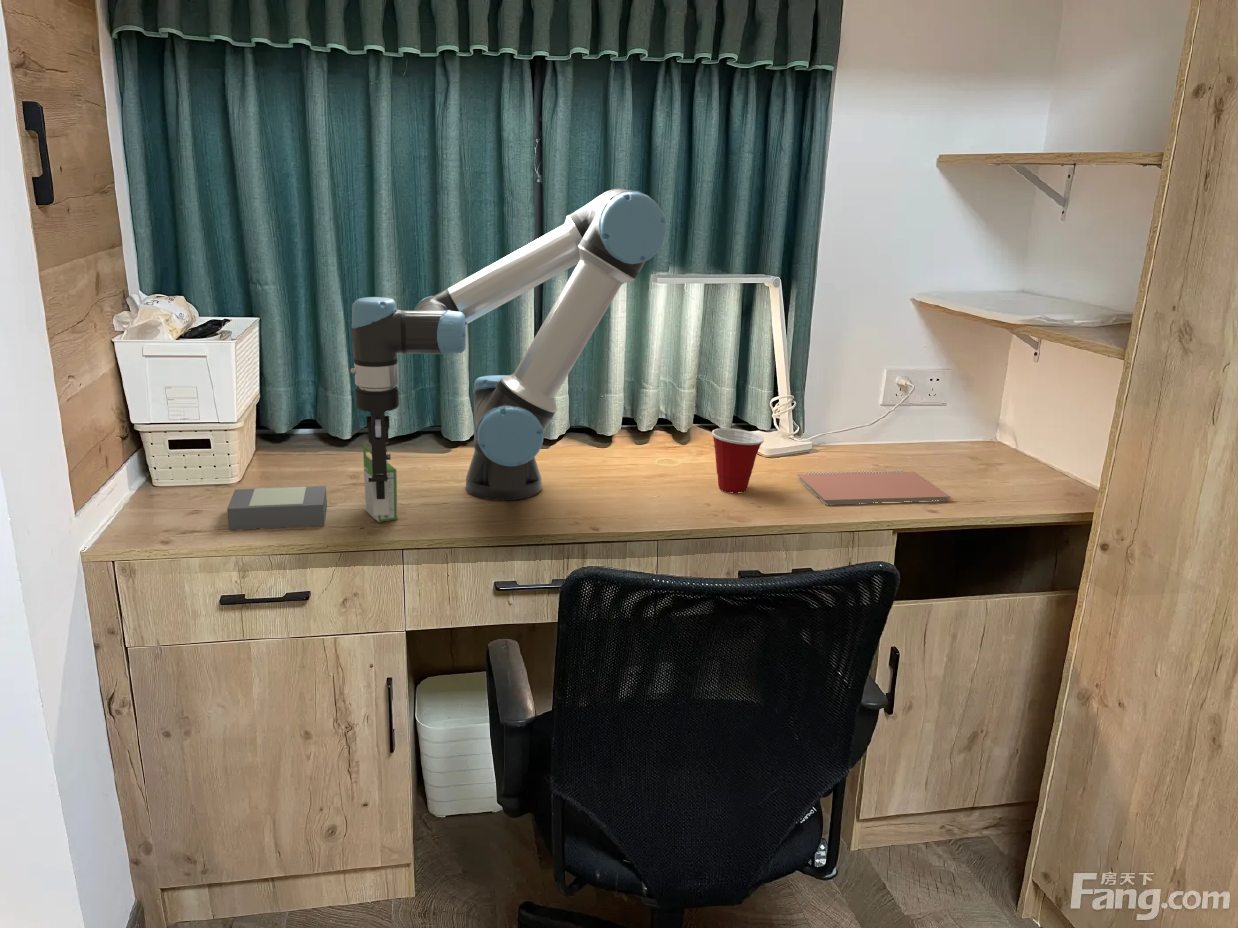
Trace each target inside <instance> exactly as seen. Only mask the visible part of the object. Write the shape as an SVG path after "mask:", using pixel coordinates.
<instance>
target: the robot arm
mask: <svg viewBox="0 0 1238 928" xmlns="http://www.w3.org/2000/svg"><path fill="white" fill-rule="evenodd" d="M666 223H667V222H666V217H665V215H664V212H663V210H662V209H661V207H660V206H659V204H658V203H657V201H655V200H654V199H652V198H651V197H650V196H649V195H648V194H645V193H643V192H642V191H640V190H633V189H628V188H619V187H618V188H612V189H610V190H607V191H605V192H602V194H600V195H598V196H597V197H595V198H594V199H593V200H591V201H590V202H588V203H587V204H585V205H584V206H582V207H580V208H579V209H577V210H575V211H574V212H572V213H570V214H568V215H566V218H565V221H564V223H563V224H562V225H560V226H558V227H556V228H555V229H552V230H551V231H549V232H547V233H545V234H544V235H542V236H540V237H539V238H536V239H535V240H533V241H531V242H529V243H528V244H526V245H524V246H522V247H521V248H518V249H517V250H514V251H513V252H511V253H510V254H507V255H506V256H504V257H502V258H500V259H499V260H497V261H494V262H493V263H491V264H490V265H487V266H485V267H484V268H482V269H480V270H479V271H477V272H475V273H473V274H470V275H469V276H467V277H466V278H464V279H463V280H460V281H459V282H457V283H455V284H453V285H452V286H450V287H448V288H447V289H444V290H442V291H440V292H439V293H436V294H434V295H430V296H427V297H424V298H423V299H421V300H420V301H419V302H418V303H417V304H416V305H415V307H414V309H413V310H401V309H398V306H397V304H396V301H395V299H393V298H389V297H380V296H368V297H360V298H357V299H356V300H355V301H354V302H353V303H352V306H351V316H352V317H351V335H352V337H351V339H352V353H353V364H354V367H352V368H350V373H351V374H354V384H355V385H356V388H355V389H354V396H355V407H356V408H357V409H358V410H359V411H361V412H362V411H363V412H369V413H370V415H367V416H366V430H367V431H368V443H369V445H371V449H372V454H371V459H372V471H373V476H372V478H368V480H369V482H372V488H373V512H374V515H389V497H388V476H387V464H386V462H388V460H390V461H391V460H392V459H391V456H392V455H391V453H389V454H387V452H388V449H387V445H388V444H389V442H390V441H389V430H390V428H391V427H390V415H386V414H385V413H386V412H391V411H393V410H396V409H397V408H399V406H400V397H399V396H400V393H399V388H398V386H397V385H398V384H399V383H400V381H399V380H400V379H399V378H400V377H399V361H398V355H399V354H421V355H423V354H425V355H428V354H429V355H444V356H445V355H450V354H451V355H452V354H462V353H464V351H465V350H466V345H467V343H466V340H467V339H466V336H467V334H466V331H467V330H466V326H467V325H469V324H470V323H471V322H473V321H475V320H477V319H478V318H482V316H485V315H486V314H488V313H489V312H490V313H491V312H492V311H493V310H496V309H497V308H500V306H501V307H502V305H504V304H506V303H508V302H510V301H512V300H513V299H516V298H517V297H519V296H520V295H522V294H524V293H527V292H528V291H531V290H532V289H534V288H536V287H538V286H539V285H541V284H543V283H545V282H546V281H549V280H550V279H552V278H554V277H556V276H557V275H559V274H561V273H563V272H566V271H567V270H568V269H570V268H572V267H574V266H575V268H574V269H573V270H572V273H571V275H570V276H569V278H568V280H567V281H566V283H565V284H564V286H563V288H562V290H561V292H560V294H559V295H558V297H557V298H556V300H555V302H554V304H553V305H552V307H551V309H550V310H549V312H548V313H547V316H546V318H545V319H544V321H543V323H542V324H541V325H540V328H539V330H538V331H537V333H536V335H535V336H534V338H533V340H532V342H531V343H530V344H529V347H528V349H527V350H526V352H525V353H524V356H523V357H522V358H521V361H520V362H519V364H518V365H517V367H516V370H514V373H511V374H510V375H507V374H505V375H504V374H503V375H502V374H501V375H500V374H499V375H484V376H480V377H478V378H476V379H475V381H474V383H473V390H472V393H473V400H474V401H473V403H474V404H473V407H474V408H473V410H474V411H473V414H474V417H473V418H474V419H473V424H474V427H473V428H474V429H473V431H474V432H473V433H474V435H473V436H474V438H473V439H474V440H473V441H474V453H473V455H472V458H471V460H470V464H469V467H468V471H467V473H466V476H465V489H466V491H467V492H468V494H470V495H473V496H474V497H477V498H481V499H484V500H485V499H486V500H490V501H491V500H494V501H514V500H523V499H526V498H531V497H533V496H535V495H537V494H539V492H540V491H541V490H542V475H541V472H540V469H539V466H538V464H537V463H538V462H537V459H536V456H537V455H538V453H539V451H540V450H541V448H542V446H543V442H544V438H545V434H544V433H545V431H546V429H547V427H548V426H549V424H550V423H551V420H552V419H553V417H554V415H555V414H556V412H557V410H558V409H557V405H556V402H555V401H556V400H555V399H556V395H557V394H558V392H559V390H560V389H561V387H562V386H563V384H564V382H565V381H566V379H567V377H568V376H569V374H570V373H571V371H572V369H573V367H574V366H575V364H576V362H577V361H578V359H579V357H580V356H581V354H582V352H583V350H584V349H585V347H586V345H587V344H588V342H589V340H590V339H591V338H592V335H593V334H594V332H595V331H596V329H597V327H598V325H599V324H600V322H601V320H602V318H603V316H604V315H605V313H606V312H607V310H608V309H609V307H610V305H611V303H612V301H613V300H614V298H615V297H616V295H617V294H618V292H619V290H620V288H621V286H622V285H623V284H626V283H630V282H634V281H635V280H636V278H637V277H638V274H639V273H640V272H641V270H642V269H643V267H644V265H645V264H646V262H647V261H649V260H651V259H652V258H653V257H654V256H655V255H657V253H658V252H659V251H660V250H661V248H662V246H663V245H664V242H665V238H666V235H667V234H666V233H667V224H666ZM376 474H383V475H376Z"/></svg>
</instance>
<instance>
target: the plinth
mask: <svg viewBox="0 0 1238 928" xmlns="http://www.w3.org/2000/svg"><path fill="white" fill-rule="evenodd" d="M226 510H227V511H226V513H227V521H228V523H227V524H228V530H229V531H235V530H236V531H239V529H243V530H254V529H253V528H264V529H280V528H281V527H282V529H283V527H286V528H300V527H301V528H303V527H304V528H306V527H320V526H321V527H324V526H325V525H326V524H325V523H326V517H327V510H328V500H327V486H326V485H319V486H318V485H317V486H289V487H288V486H287V487H267V488H266V487H260V488H259V487H258V488H241V489H240V488H237V489H234V492H233V494H232V496H231V499H230V500H229V504H228V506H227V508H226ZM237 529H238V530H237Z"/></svg>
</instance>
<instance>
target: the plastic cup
mask: <svg viewBox="0 0 1238 928" xmlns="http://www.w3.org/2000/svg"><path fill="white" fill-rule="evenodd" d="M711 436H712V437H713V443H714V444H713V446H714V453H715V465H716V467H715V468H716V474H717V484H718V489H719V490H720V491H722V490H723V491H722V492H724V491H726V492H725V493H727V492H733V493H732V494H739V493H738V492H743V493H745V492H747V489H748V486H749V483H750V478H751V476H752V474H753V469H754V466H755V461H756V458H757V454H758V453H759V450H760V448H761V447H762V446H761V445H762V444H763V443H764V442H765V437H763V436H762V435H761V434H758V433H755V432H753V431H749V430H745V429H738V428H725V427H724V428H716V429H713V430H712V431H711ZM744 491H745V492H744Z"/></svg>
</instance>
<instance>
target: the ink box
mask: <svg viewBox="0 0 1238 928" xmlns="http://www.w3.org/2000/svg"><path fill="white" fill-rule="evenodd" d="M367 453H370V454H371V455H372V447H370V446H368V445H366V444H365V443H364V442H363V443H362V454H363V472H364V473H363V475H364V476H363V477H364V478H363V479H364V498H365V499H364V500H365V511H366V512H367V513H368V514H369V515H370V516H371V517H372V518H373V519H374V520H375V521H377V523H381V522H388V521H395V520H398V488H397V487H398V483H397V481H398V479H397V476H398V475H397V472H398V471H397V469H396V468H395V467H394V466H392V464H390V463H389V462H388V461H387V462H386V464H387V476H388V497H389V515H374V512H373V488H372V482H369V480H368V478H372V476H373V471H372V458H370V457H369V456H368V455H367ZM376 475H383V474H376Z"/></svg>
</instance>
